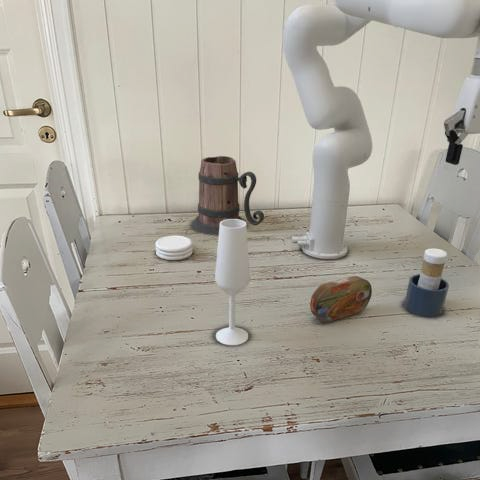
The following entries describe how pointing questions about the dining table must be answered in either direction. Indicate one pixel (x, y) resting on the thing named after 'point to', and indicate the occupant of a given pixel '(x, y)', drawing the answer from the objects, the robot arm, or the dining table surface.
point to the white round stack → (174, 247)
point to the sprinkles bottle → (432, 269)
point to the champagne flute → (232, 273)
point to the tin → (340, 298)
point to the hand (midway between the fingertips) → (469, 161)
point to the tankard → (222, 194)
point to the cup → (425, 298)
